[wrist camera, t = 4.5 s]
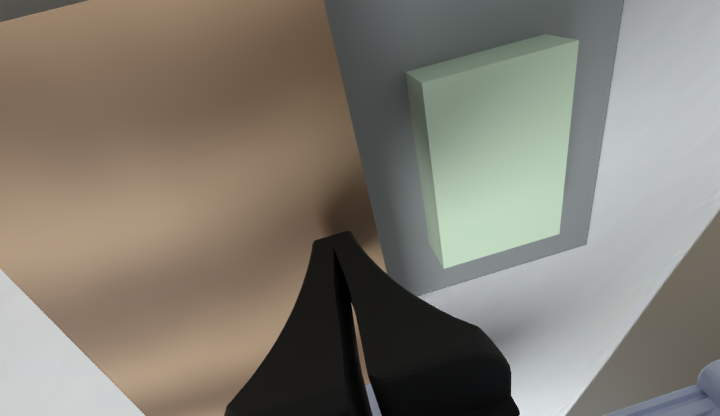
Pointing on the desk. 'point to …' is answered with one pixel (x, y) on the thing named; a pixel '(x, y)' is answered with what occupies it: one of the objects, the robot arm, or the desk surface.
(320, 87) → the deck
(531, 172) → the pale green block
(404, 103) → the mat
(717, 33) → the desk surface
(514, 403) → the robot arm
